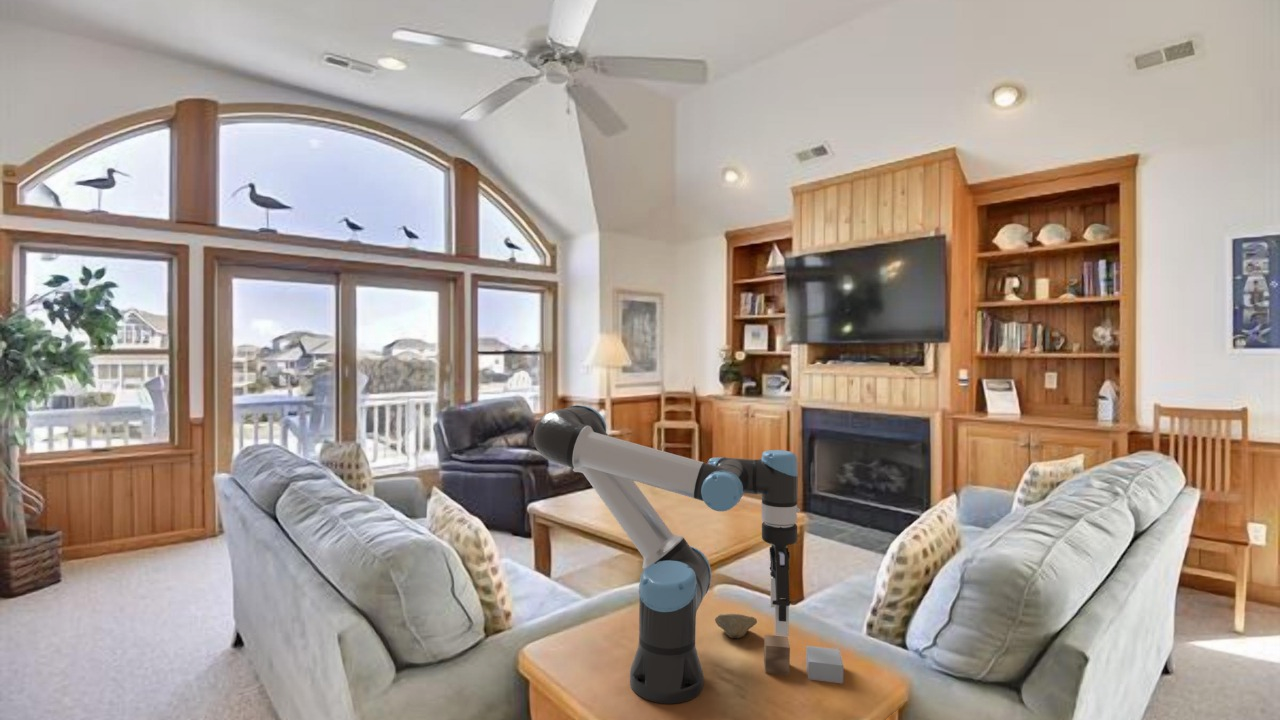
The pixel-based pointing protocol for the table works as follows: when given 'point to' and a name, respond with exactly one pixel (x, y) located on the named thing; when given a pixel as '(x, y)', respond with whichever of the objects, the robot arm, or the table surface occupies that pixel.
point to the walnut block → (776, 655)
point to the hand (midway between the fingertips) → (779, 620)
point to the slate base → (824, 664)
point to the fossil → (735, 624)
